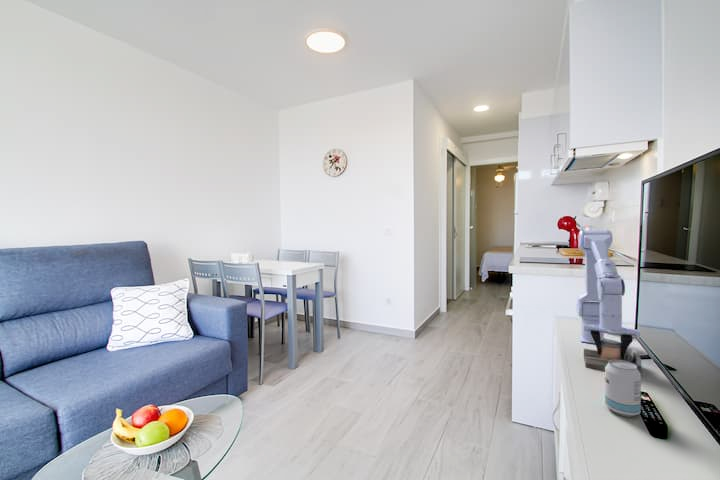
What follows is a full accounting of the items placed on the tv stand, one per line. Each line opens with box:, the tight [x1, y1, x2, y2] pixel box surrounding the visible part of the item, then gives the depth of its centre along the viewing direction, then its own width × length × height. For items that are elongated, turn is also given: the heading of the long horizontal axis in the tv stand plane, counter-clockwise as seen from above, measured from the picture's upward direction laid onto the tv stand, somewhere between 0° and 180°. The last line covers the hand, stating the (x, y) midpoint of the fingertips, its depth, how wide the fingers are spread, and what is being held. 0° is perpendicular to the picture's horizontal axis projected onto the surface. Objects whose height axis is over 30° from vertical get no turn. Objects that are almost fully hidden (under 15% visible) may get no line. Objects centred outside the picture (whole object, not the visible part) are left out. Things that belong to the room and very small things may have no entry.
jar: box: [600, 338, 621, 360], centre depth 106 cm, size 6×6×6 cm
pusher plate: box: [624, 348, 632, 363], centre depth 104 cm, size 6×1×4 cm, turn 149°
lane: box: [583, 348, 643, 377], centre depth 106 cm, size 10×14×5 cm
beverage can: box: [604, 360, 642, 418], centre depth 81 cm, size 7×7×12 cm
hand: (610, 355), depth 106 cm, fingers closed on jar, 5 cm apart
